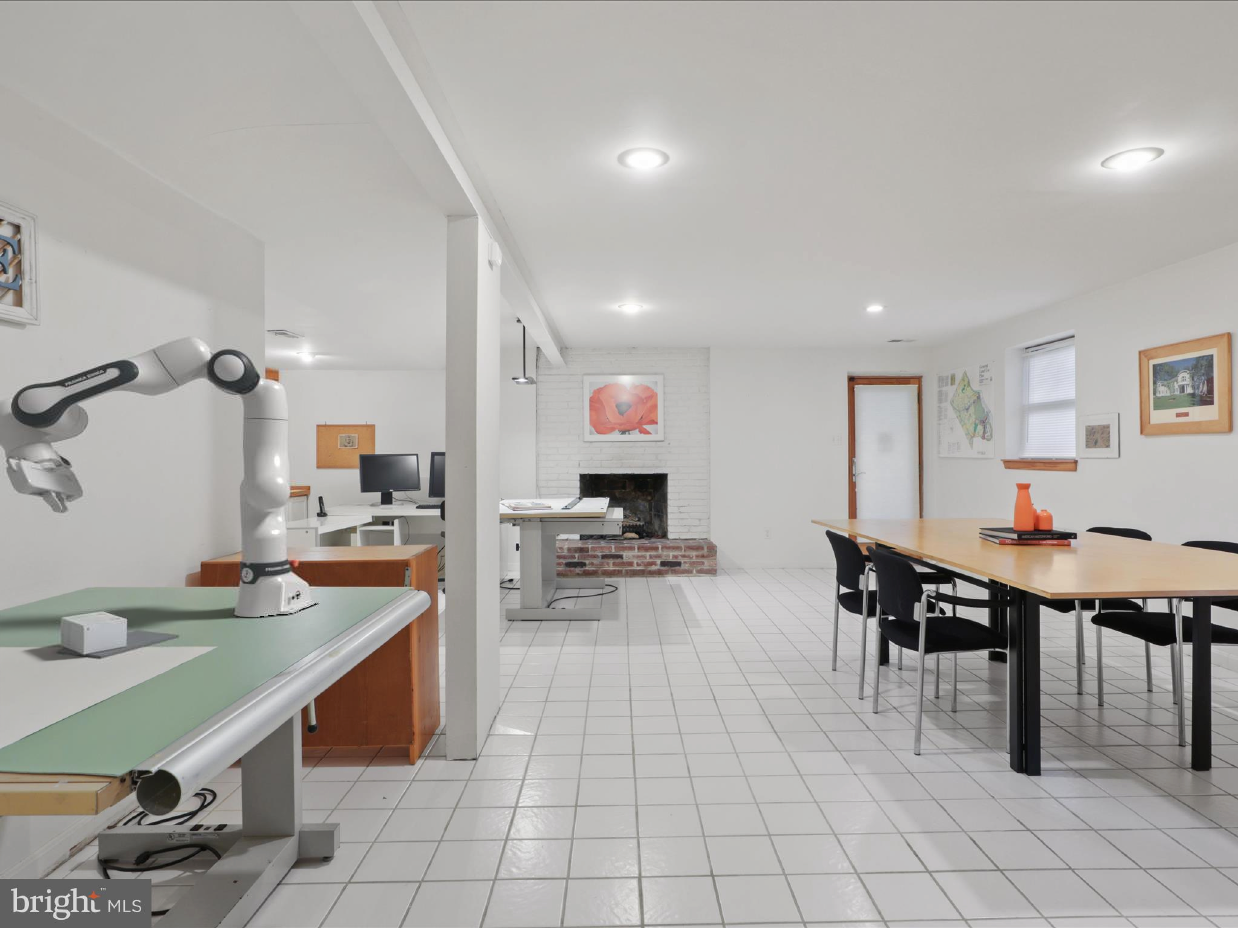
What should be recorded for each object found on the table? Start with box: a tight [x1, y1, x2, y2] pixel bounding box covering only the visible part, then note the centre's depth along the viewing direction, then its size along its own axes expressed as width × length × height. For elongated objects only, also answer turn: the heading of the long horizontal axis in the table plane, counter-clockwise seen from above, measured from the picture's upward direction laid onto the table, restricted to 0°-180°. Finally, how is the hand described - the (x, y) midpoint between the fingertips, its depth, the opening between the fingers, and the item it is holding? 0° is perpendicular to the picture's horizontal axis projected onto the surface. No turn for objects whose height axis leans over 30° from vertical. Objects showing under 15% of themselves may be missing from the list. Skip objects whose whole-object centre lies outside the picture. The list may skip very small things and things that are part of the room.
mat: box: [56, 630, 180, 659], centre depth 153 cm, size 18×13×1 cm
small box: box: [60, 611, 128, 655], centre depth 149 cm, size 8×6×13 cm
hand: (61, 511), depth 162 cm, fingers closed
